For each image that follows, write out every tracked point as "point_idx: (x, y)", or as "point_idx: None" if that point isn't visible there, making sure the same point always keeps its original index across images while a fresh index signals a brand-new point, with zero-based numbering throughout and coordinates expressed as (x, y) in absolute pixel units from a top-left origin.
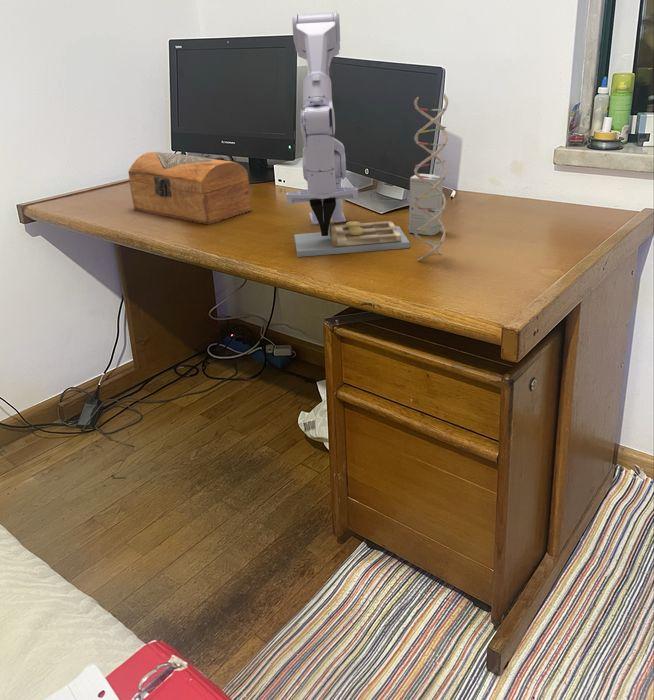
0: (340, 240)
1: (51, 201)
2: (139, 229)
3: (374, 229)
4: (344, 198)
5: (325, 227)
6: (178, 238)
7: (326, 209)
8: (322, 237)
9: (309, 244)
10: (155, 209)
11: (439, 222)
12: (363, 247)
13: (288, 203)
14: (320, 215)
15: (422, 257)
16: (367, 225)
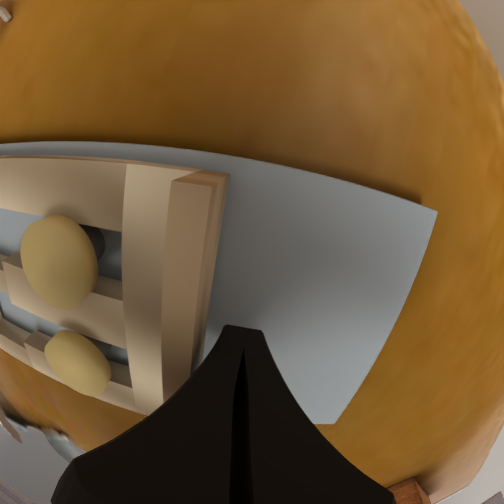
0: (170, 167)
1: (451, 494)
2: (477, 453)
3: (9, 286)
4: (6, 486)
5: (236, 357)
6: (485, 427)
7: (202, 485)
8: None
9: (344, 295)
10: (426, 496)
11: None
12: (77, 142)
13: (500, 494)
14: (282, 439)
15: (1, 8)
16: (38, 349)
